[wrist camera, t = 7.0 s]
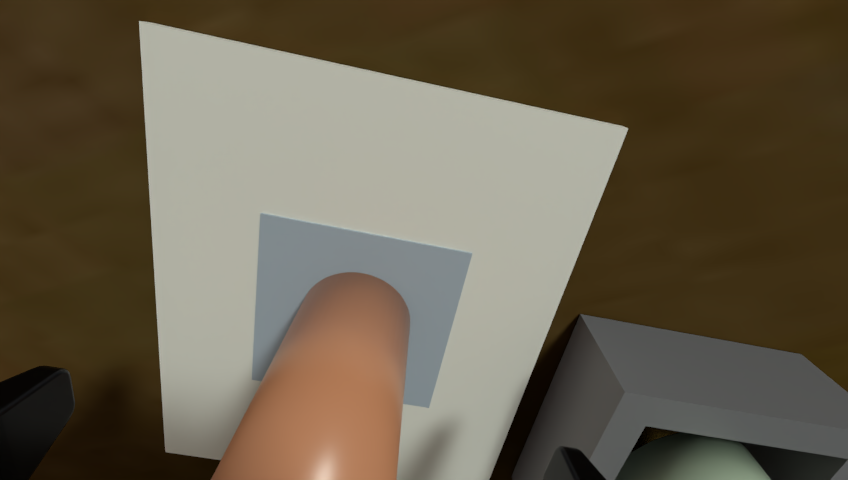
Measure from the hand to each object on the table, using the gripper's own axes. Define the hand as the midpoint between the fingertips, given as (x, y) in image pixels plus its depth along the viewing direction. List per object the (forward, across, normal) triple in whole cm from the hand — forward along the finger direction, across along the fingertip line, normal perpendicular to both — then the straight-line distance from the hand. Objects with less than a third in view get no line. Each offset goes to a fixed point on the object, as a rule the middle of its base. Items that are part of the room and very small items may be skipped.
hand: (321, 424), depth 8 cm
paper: (+4, 0, 0) cm, 4 cm away
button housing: (+4, -9, +2) cm, 10 cm away
